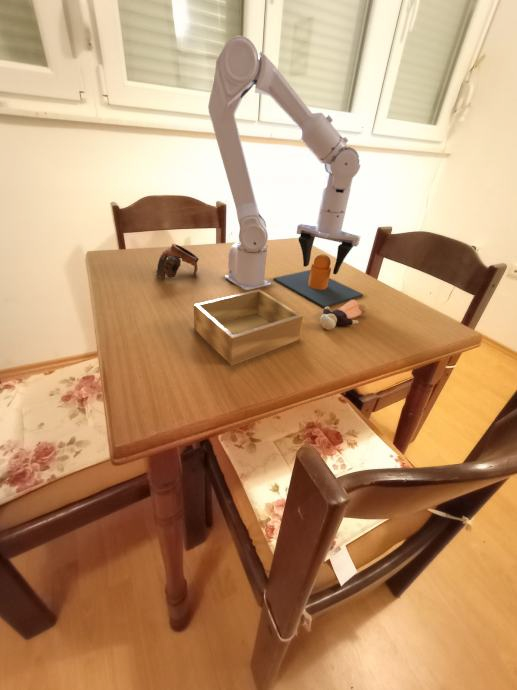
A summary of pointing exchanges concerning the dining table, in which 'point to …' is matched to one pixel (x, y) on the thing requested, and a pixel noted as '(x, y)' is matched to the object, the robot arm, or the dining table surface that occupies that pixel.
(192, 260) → the brown piece
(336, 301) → the mat
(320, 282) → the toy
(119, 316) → the dining table surface
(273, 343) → the wooden box
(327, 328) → the grandmother figurine
